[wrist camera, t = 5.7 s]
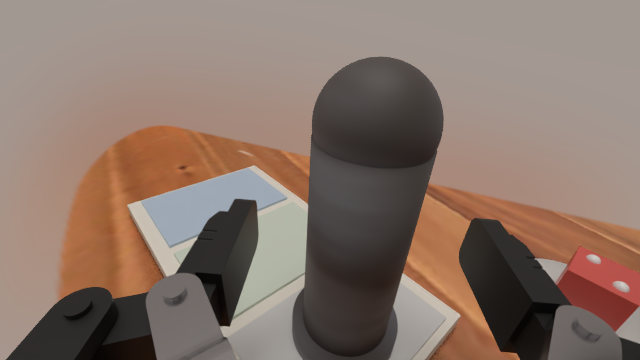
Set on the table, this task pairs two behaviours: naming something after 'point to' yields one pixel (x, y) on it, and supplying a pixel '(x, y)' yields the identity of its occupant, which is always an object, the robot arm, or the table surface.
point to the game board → (273, 266)
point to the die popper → (600, 289)
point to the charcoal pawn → (363, 205)
